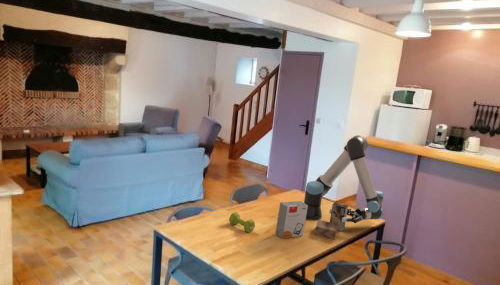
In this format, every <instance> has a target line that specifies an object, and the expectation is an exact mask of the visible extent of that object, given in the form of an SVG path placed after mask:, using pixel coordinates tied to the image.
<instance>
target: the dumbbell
mask: <svg viewBox="0 0 500 285" xmlns="http://www.w3.org/2000/svg"><path fill="white" fill-rule="evenodd" d="M228 221H229V224H231V225H232V226H234V225H237V224H239V225H241V226H243V230H244V231H245V232H246V233H251V232H253V230H254V229H255V226H256V224H255V221H254V220H253V219H247V220H244V219H242V218H241V215H240V214H239V212H232V213H231V214H230V216H229V218H228Z"/></svg>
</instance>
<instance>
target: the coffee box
mask: <svg viewBox="0 0 500 285" xmlns="http://www.w3.org/2000/svg"><path fill="white" fill-rule="evenodd" d="M331 209H332V211H331V213H330V219H329V222H332V223H337V227H336V231H339V232H343V231H344V230H345V228H346V222H342V218H345V217H348V215H347V210H348V209H349V205H348V204H344V203H341V202H337V201H334V202H333V203H332V204H331Z"/></svg>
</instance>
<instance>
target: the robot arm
mask: <svg viewBox="0 0 500 285" xmlns="http://www.w3.org/2000/svg"><path fill="white" fill-rule="evenodd" d="M368 145H369V142H368V139H366V137H364V136H363V135H360V134H359V135H355V136H352V137H350V138H349V139H348V141H347V143H346V144H345V146H344V147H343V151H342V153H341V154H339V156H338V157H337V158H336V160H334V162H333V163H332V164H331V166H329V168H328V169H327V170H326V171H325V172H324V174H320V175H319V176H318V177H317V178H316V179H315V180H312V181H309V182H307V183H306V186H305V193H304V200H303V203H305V204H307V205H308V208H307V214H306V220H307V219H308V220H312V221H313V220H314V221H316V220H317V221H318V220H322V217H323V214H322V206H321V205H322V200H323V197H325V195H326V194H328V192H329V191H330V190H331V189H332V188H333V185H334V184H333V183H334V182H335V181H336V179H337V180H338V177H340V175H342V173H343V172H344V171H345V170H346V169H347V167H348V166H349V165H350V164H351V163H352V164H353V165H354V170H355V172H356V175H357V178H358V180H359V184H360V186H361V189H362V192H363V195H364V199H365V202H366V207H365V208H356V209H355V210H352V208H348V210H347V216H346V217H345V218H342V222H345V223H350V222H351V223H353V224H357V223H359V222H362V221H367V220H368V221H369V220H380V219H383V218H384V215H385V213H384V210H383V209H382V205H383V201H384V196H385V195H384V192H382V191H380V190H376V188H375V186H374V182H373V179H372V177H371V176H372V175H371V173H370V170H369V167H368V165H367V162H366V153H365V151H366V150H367V148H368ZM331 211H332V208H330V209H329V214H331Z"/></svg>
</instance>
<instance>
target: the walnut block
mask: <svg viewBox="0 0 500 285" xmlns="http://www.w3.org/2000/svg"><path fill="white" fill-rule="evenodd" d="M336 227H337V223H332V222H330V221H327V220H322V219H318V220H317V222H316V224H315V231H314V236H316V237H321V238H324V239H329V240H334V241H335V238H336V233H337V229H336Z"/></svg>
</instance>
